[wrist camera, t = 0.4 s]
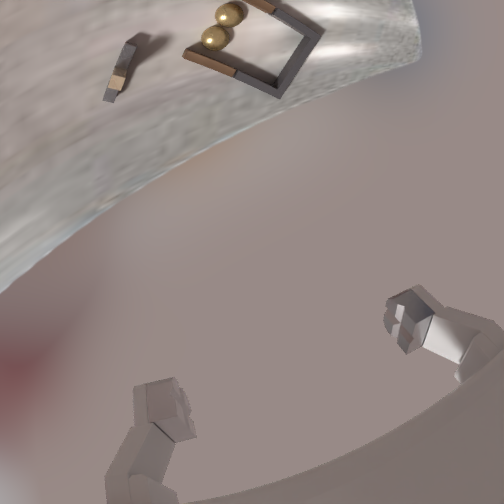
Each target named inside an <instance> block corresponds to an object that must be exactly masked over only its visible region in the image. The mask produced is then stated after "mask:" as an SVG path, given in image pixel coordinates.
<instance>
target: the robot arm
mask: <svg viewBox="0 0 504 504" xmlns="http://www.w3.org/2000/svg"><path fill="white" fill-rule="evenodd" d="M386 307H387V308H388V310H387V311H386V312H385V314H384V325H385V328H386V329H387V331H388V333H389V334H390V335H391V336H393V337H396V338H397V344H398V345H399V346H400V347H401V349H402V350H403V351H404V352H405V353H406V354H408V353H410V352H412V351H414V350H416V349H418V348H419V347H421V346H423V347H424V348H426V349H428V350H430V351H432V352H435V353H437V354H439V355H441V356H443V357H445V358H447V359H450V360H452V361H453V362H456V363H458V364H459V366H458V368H457V370H456V371H455V375H454V376H455V377H456V379H457V380H458V381H459V383H460V384H461V385H460V386H458V387H457V388H456V389H454V390H453V391H452V392H450V393H449V394H448V395H446V396H445V397H443V398H442V399H441V400H439V401H438V402H437V403H435V404H433V405H432V406H431V407H429V408H428V409H426V410H424V411H423V412H421V413H420V414H419V415H417V416H415V417H413V418H412V419H410V420H409V421H407V422H405V423H404V424H402V425H400V426H399V427H397V428H395V429H393V430H392V431H390V432H388V433H386V434H385V435H383V436H381V437H379V438H377V439H375V440H374V441H372V442H370V443H368V444H366V445H364V446H362V447H360V448H358V449H356V450H354V451H351V452H349V453H347V454H345V455H343V456H341V457H338V458H336V459H334V460H332V461H329V462H327V463H324V464H322V465H320V466H318V467H315V468H312V469H310V470H307V471H305V472H302V473H299V474H296V475H294V476H291V477H288V478H285V479H282V480H279V481H276V482H273V483H270V484H266V485H263V486H260V487H256V488H253V489H249V490H245V491H242V492H238V493H234V494H230V495H225V496H221V497H216V498H211V499H207V500H202V501H196V502H190V503H184V504H504V331H503V330H502V329H501V327H499V326H498V325H497V324H496V323H495V322H494V321H493V320H490V319H487V318H483V317H480V316H477V315H474V314H470V313H467V312H463V311H460V310H457V309H454V308H451V307H445V308H444V306H443V305H441V304H440V303H439V302H438V301H437V300H436V299H435V298H434V297H433V296H432V295H431V294H430V293H429V292H428V291H427V290H426V289H425V288H424V287H422V286H421V285H419V284H418V285H415V286H413V287H412V288H409V289H407V290H405V291H403V292H401V293H399V294H397V295H395V296H393V297H391V298H388V300H387V301H386ZM133 408H134V425H135V426H133V427H131V428H130V430H129V432H128V433H127V435H126V437H125V439H124V441H123V443H122V445H121V446H120V448H119V450H118V452H117V454H116V456H115V458H114V460H113V461H112V464H111V465H110V467H109V469H108V471H107V473H106V475H105V489H106V499H107V504H179V502H178V498H177V494H176V492H175V491H174V490H172V489H170V488H168V487H166V486H164V485H162V481H163V478H164V475H165V472H166V469H167V466H168V464H169V461H170V458H171V455H172V452H173V450H174V447H175V443H176V442H181V441H185V440H189V439H192V438H196V437H197V436H196V431H195V427H194V422H193V421H192V419H191V418H190V417H189V415H190V413H191V407H190V404H189V400H188V397H187V395H186V393H185V391H184V390H183V389H182V388H180V387H179V385H178V381H177V380H176V379H175V377H172V378H168V379H164V380H159V381H155V382H150V383H146V384H142V385H137V386H134V388H133Z"/></svg>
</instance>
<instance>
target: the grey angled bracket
mask: <svg viewBox="0 0 504 504" xmlns="http://www.w3.org/2000/svg"><path fill="white" fill-rule="evenodd" d="M268 14H269V15H271V16H272V17H274V18H276V19H278V20H279V21H281V22H283V23H284V24H286V25H288V26H289V27H291V28H293V29H294V30H296V31H297V32H299V33H300V34H302V35H304V38H303V39H302V41H301V42H300V44H299V45H298V47H297V48H296V50H295V51H294V53H293V54H292V56H291V57H290V59H289V60H288V62H287V63H286V65H285V67H284V68H283V70H282V71H281V73H280V74H279V76H278V78H277V79H276V81H275V82H274V84H273V86H272V85H270V84H268V83H266V82H264V81H261V80H259V79H257V78H255V77H253V76H251V75H249V74H247V73H244V72H242V71H240V70H238V69H236V68H234V69H235V70H236V71H235V73H234V75H233V76H232V77H233V78H235V79H237V80H239V81H242V82H244V83H246V84H248V85H251V86H253V87H255V88H257V89H259V90H261V91H264V92H266V93H268V94H270V95H272V96H274V97H276V98H278V99H280V98H281V97H282V95H283V94H284V92H285V91H286V89H287V87H288V86H289V84H290V83H291V81H292V80H293V78H294V77H295V75H296V73H297V72H298V70H299V69H300V67H301V66H302V64H303V63H304V61H305V60H306V58H307V57H308V55H309V54H310V52H311V51H312V49H313V48H314V46H315V45H316V43H317V42H318V40H319V39H320V37H321V36H320V35H319V34H317V33H316V32H314V31H313V30H312V29H310V28H309V27H307V26H306V25H304V24H303V23H301V22H299V21H298V20H296V19H295V18H293V17H292V16H290V15H288V14H287V13H285V12H283V11H282V10H280V9H278V8H275V9H274V10H273V12H272V13H268Z"/></svg>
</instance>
